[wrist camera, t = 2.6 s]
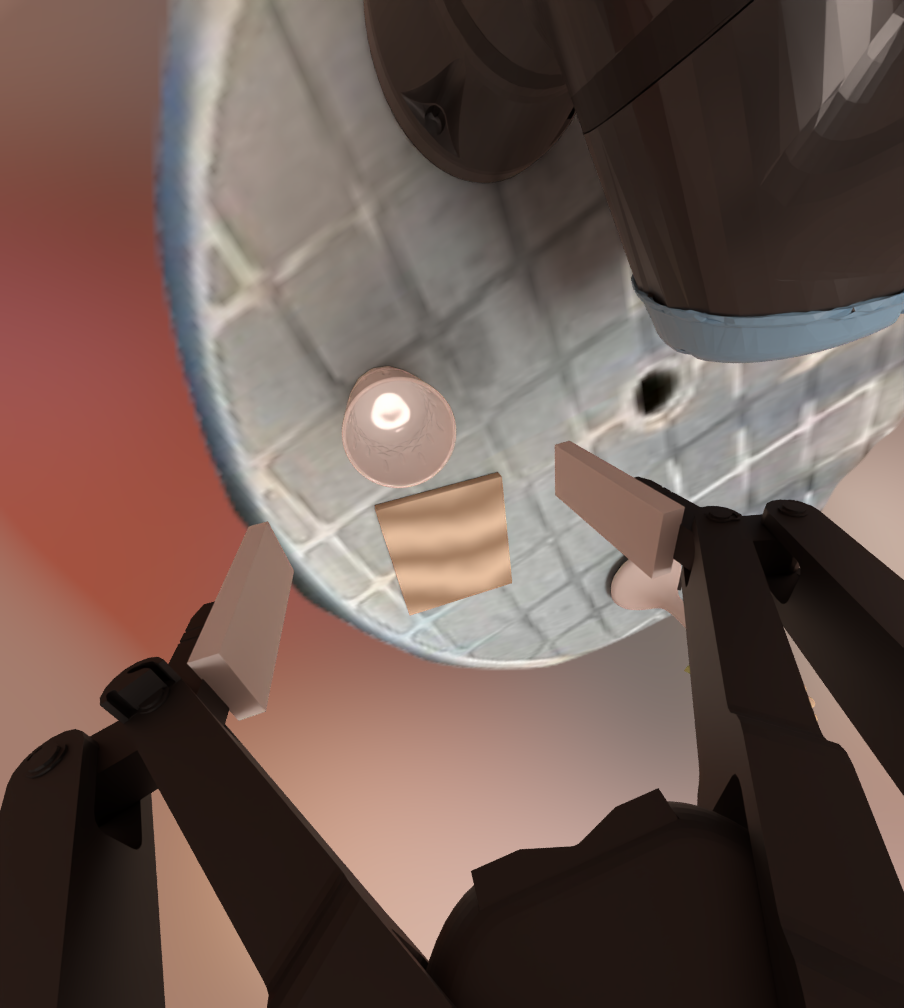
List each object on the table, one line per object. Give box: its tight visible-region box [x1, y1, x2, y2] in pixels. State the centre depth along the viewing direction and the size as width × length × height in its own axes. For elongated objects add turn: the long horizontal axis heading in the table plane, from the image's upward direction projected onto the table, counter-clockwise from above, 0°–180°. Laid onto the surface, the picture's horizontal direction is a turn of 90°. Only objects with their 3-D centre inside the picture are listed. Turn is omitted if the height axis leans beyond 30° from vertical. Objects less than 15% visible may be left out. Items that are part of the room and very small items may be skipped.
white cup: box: [342, 366, 456, 488], centre depth 28 cm, size 8×8×10 cm
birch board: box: [375, 472, 512, 615], centre depth 42 cm, size 16×14×1 cm
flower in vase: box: [611, 559, 818, 721], centre depth 43 cm, size 13×11×25 cm
